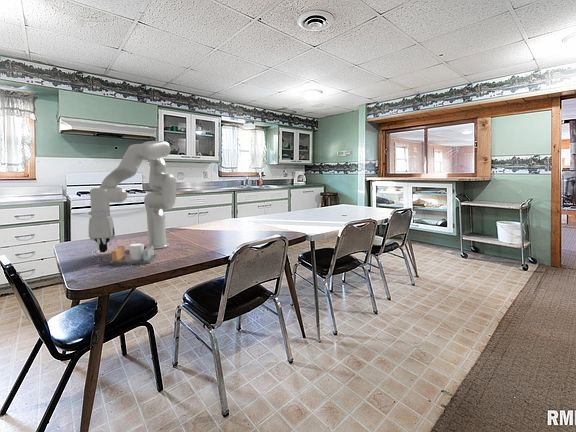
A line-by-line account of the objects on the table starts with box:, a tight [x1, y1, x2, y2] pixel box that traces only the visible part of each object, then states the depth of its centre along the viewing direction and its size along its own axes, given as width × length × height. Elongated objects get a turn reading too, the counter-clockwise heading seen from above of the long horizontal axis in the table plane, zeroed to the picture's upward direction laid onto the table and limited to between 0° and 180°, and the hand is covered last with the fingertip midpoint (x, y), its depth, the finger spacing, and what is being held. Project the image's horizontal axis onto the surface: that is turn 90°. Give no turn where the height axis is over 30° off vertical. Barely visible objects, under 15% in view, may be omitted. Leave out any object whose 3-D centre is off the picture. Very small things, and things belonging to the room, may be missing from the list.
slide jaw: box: [111, 245, 126, 262], centre depth 150 cm, size 2×10×5 cm, turn 8°
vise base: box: [108, 246, 158, 266], centre depth 151 cm, size 18×12×6 cm, turn 98°
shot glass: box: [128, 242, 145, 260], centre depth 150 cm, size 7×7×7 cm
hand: (103, 251), depth 148 cm, fingers closed
